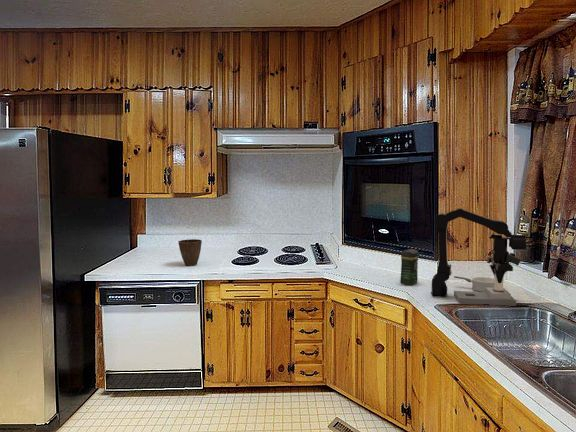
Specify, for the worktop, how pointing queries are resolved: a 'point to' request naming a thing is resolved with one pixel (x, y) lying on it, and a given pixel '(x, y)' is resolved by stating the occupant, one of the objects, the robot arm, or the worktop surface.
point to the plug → (498, 284)
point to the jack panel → (485, 297)
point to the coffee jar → (409, 267)
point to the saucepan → (480, 283)
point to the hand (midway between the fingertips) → (498, 282)
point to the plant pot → (190, 251)
